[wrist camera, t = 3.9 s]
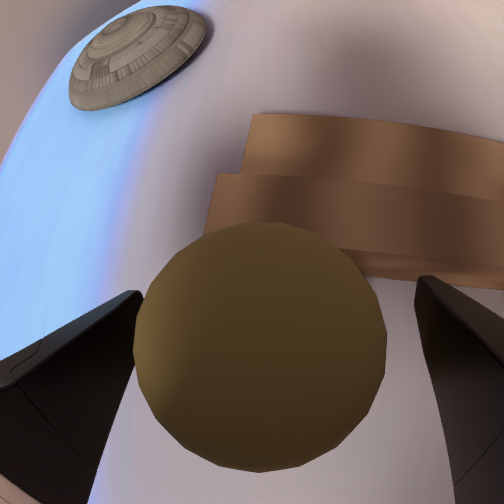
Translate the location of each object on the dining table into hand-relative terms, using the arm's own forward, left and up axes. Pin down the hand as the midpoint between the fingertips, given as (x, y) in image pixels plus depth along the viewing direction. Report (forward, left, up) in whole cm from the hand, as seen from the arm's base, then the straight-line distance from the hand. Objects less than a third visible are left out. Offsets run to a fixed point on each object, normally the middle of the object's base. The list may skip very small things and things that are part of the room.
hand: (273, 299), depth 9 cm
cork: (-1, -1, -7) cm, 7 cm away
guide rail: (+7, -3, -7) cm, 11 cm away
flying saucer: (+3, +27, -8) cm, 29 cm away
